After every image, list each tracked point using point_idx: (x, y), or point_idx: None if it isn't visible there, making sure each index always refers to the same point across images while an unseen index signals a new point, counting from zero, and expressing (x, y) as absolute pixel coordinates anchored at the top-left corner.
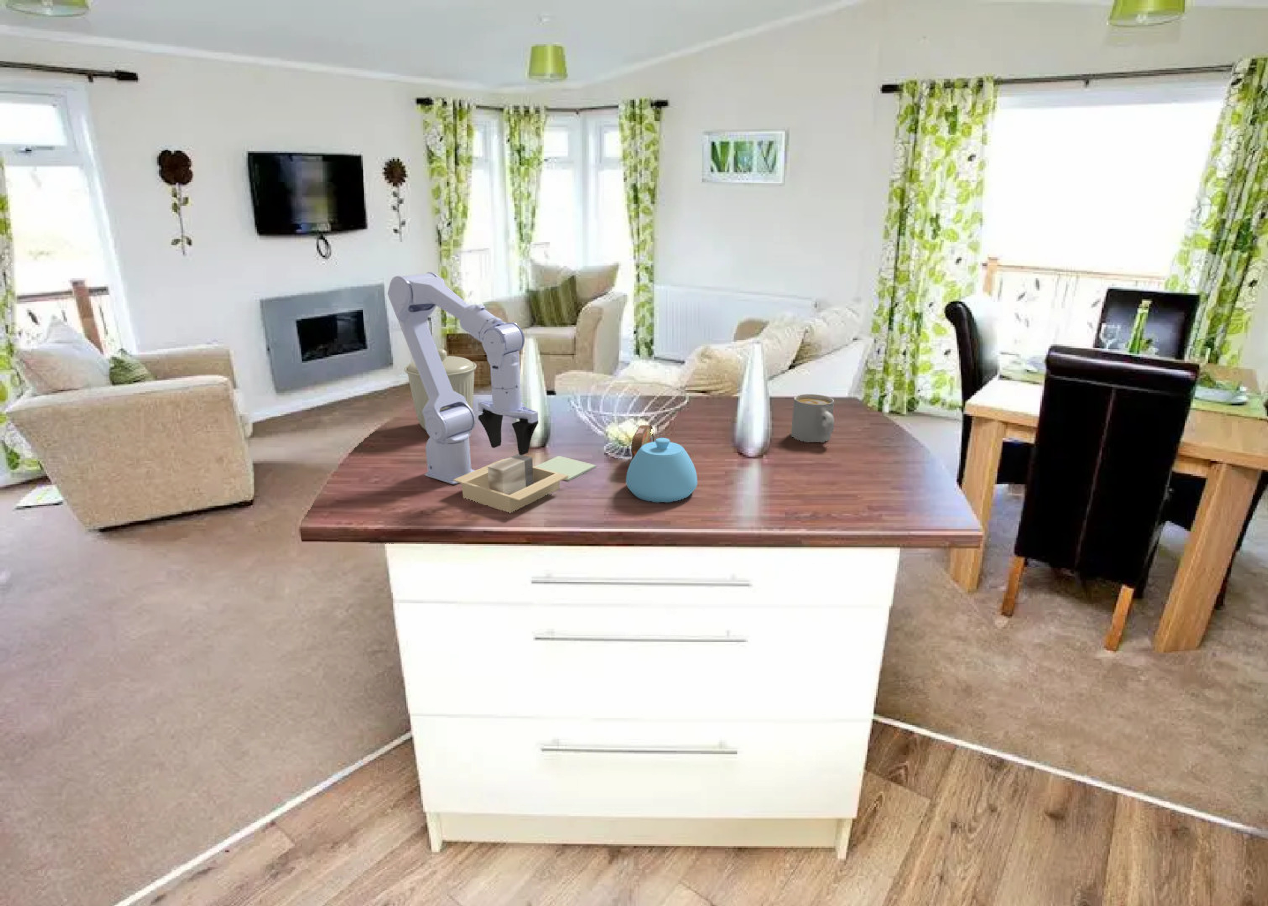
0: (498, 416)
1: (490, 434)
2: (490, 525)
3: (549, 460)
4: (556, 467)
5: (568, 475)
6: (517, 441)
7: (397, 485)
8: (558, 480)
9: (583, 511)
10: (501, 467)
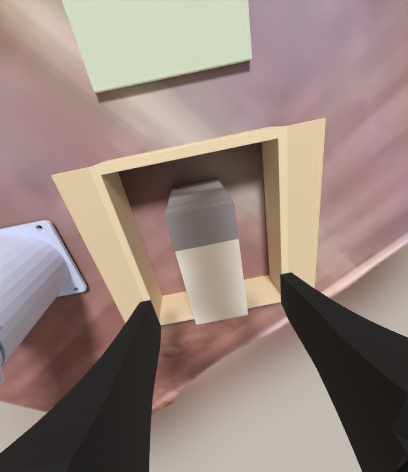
0: (108, 463)
1: (152, 388)
2: (281, 315)
3: None
4: (139, 2)
5: (230, 32)
6: (313, 358)
7: (31, 346)
8: (321, 169)
9: (392, 177)
10: (228, 306)
